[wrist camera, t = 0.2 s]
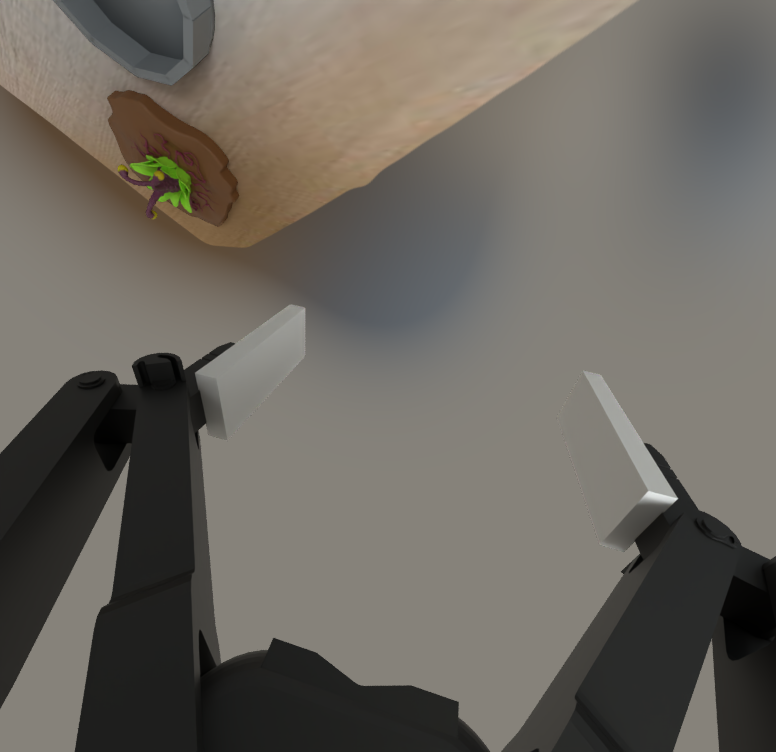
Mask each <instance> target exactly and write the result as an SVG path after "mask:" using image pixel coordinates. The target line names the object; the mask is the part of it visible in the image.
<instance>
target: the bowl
mask: <svg viewBox="0 0 776 752" xmlns="http://www.w3.org/2000/svg"><path fill="white" fill-rule="evenodd" d="M53 1H54V2H55V3H56V4H57V5H58V6H59V8H60V9H61V10H62V11H63V12H64V13H65V14H66V15H67V16H68V18H69V19H70V20H71V21H72V22H73V23H74V24H75V25H76V27H77V28H78V29H79V30H80V31H81V32H82V33H83V34H84V36H85V37H86V38H87V39H88V40H89V41H90V42H92V44H93V45H94V46H96V47H97V48H98V49H100V50H101V51H102V52H104V53H105V54H107V55H108V56H109V57H111V58H112V59H113V60H115V61H116V62H117V63H119V64H120V65H121V66H123V67H124V68H126V69H127V70H128V71H130V72H131V73H132V74H134V75H135V76H137V77H140V78H144V79H148V80H152V81H156V82H160V83H164V84H168V85H173V84H174V83H176V82H177V81H178V80H179V79H180V78H182V77H183V76H184V75H185V74H186V73H188V72H189V71H190V70H191V69H192V68H193V67H194V66H196V65H197V64H198V63H199V62H200V61H201V60H202V59H203V58H204V57H205V56H206V55H207V54H208V53H209V48H210V47H211V44H212V40H213V36H214V28H215V13H214V3H213V0H53Z"/></svg>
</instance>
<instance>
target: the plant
mask: <svg viewBox="0 0 776 752" xmlns="http://www.w3.org/2000/svg"><path fill="white" fill-rule="evenodd" d="M107 99H108V101H109V103H110V105H111V107H112V111H113V114H112V116H110V117H109V119H108V122H109V125H110V127H111V129H112V131H113V133H114V135H115V137H116V140H117V142H118V145H119V147H120V150H121V153H122V155H123V157H124V159H125V161H126V162H127V164H128V165H129V167H130V168H131V170H132V171H133V172H134V173H135V174H136V175H137V176H138V177H139V178H140V179H141V180H142V181H136V180H133V179H131V178H129V177H128V169H127V168H126V167H125V166H124V165H122V164H121V165H119V166H118V172H119V174H120V175H121V176H122V178H124V179H126V181H129V182H130V183H132V184H134V185H138V186H140V185H141V186H147V188H149V189H152V190H153V191H154V192H153V195H151V198H150V199H149V203H148V206H147V210H146V215H147V217H148V218H150V219H155V218H157V213H156V212H155V211H153V210H152V207H153V206H154V205H155V204H156V201H160V202H164V201H168V202H169V203H171V204H172V205H174V206H175V207H177V208H179V209H180V210H182V211H183V212H185V213H187V214H188V215H190V216H194V217H198V218H200V219H202V220H204V221H206V222H208V223H211V224H213V225H215V226H217V227H218V226H220V225H221V224H222V223H223V222H224V221H225V220H226V219H227V217H228V212H229V211H230V210H231V208H232V202H235V201H236V199H237V198H238V196H239V194H238V192H237V190H236V186H237V184H238V182H237V179H236V178H235V177H234V176H233V174H232V173H231V172H230V171H229V170H228V168H227V166H226V165H227V164H228V162H229V160H228V158H227V157H226V155H225V154H224V152H223V151H222V150H221V149H220V148H219V146H218V145H217V144H216V143H215V142H214V141H213V140H212V139H211V138H209V137H208V136H207V135H206V134H204V133H203V132H201V131H199V130H198V129H196V128H194V127H192V126H190V125H188V124H186V123H184V122H182V121H181V120H179V119H178V118H176V117H175V116H173V115H172V114H170V113H169V112H167V111H166V110H164V109H163V108H162V107H160V106H159V105H158V104H156V103H155V102H154V101H153V100H152V99H151V98H150V97H148V96H147V95H145V94H139V93H137V92H134V91H130V90H127V91H125V92H119V91H114V92H113V93H112V94H111V95H110V96H108V98H107Z"/></svg>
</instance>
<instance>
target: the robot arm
mask: <svg viewBox="0 0 776 752" xmlns="http://www.w3.org/2000/svg"><path fill="white" fill-rule="evenodd" d="M304 357H305V308H304V307H300V306H296V305H289V306H288V307H286V308H285V309H283V310H282V311H281V312H279V313H278V314H276V315H275V316H274V317H272V318H271V319H270V320H268V321H267V322H266V323H264V324H263V325H261V326H260V327H258V328H257V329H256V330H254V331H253V332H251V333H250V334H249V335H247V336H246V337H244V338H243V339H242V340H240V341H239V342H237V343H236V344H235V343H231V342H230V343H227V344H225V345H222V346H219V347H217V348H216V349H214V350H213V351H211V352H210V353H209V354H207V355H205V356H204V357H202V359H199V360H198V361H196V362H195V363H194V364H192V365H191V366H189V367H188V368H186V369H185V370H184V369H183V365H182V361H181V359H180V357H179V356H177V355H175V354H170V353H156V354H150V355H147V356H144V357H141V358H139V359H138V360H136V361H135V362H134V364H133V365H132V368H133V371H134V374H135V377H136V379H137V383H138V385H125V384H123V385H122V384H120V383H119V381H118V378H117V376H116V375H115V374H114V373H112V372H109V371H91V372H87V373H83V374H80V375H78V376H76V377H73V378H72V379H70V380H69V381H68V382H66V384H64V385H63V387H62V388H61V389H60V390H59V391H58V392H57V393H56V394H55V395H54V396H53V397H52V399H50V401H49V402H48V403H47V404H46V405H45V406H44V407H43V408H42V409H41V410H40V411H39V412H38V414H37V415H36V416H35V417H34V418H33V419H32V420H31V421H30V422H29V423H28V424H27V425H26V426H25V428H24V429H23V430H22V431H21V432H20V433H19V434H18V435H17V436H16V437H15V438H14V439H13V440H12V442H11V443H10V444H9V445H8V446H7V447H6V448H5V449H4V450H3V451H2V452H1V454H0V708H1V706H2V704H3V703H4V701H5V699H6V697H7V696H8V694H9V692H10V690H11V688H12V687H13V685H14V683H15V681H16V679H17V677H18V675H19V673H20V671H21V669H22V667H23V665H24V663H25V661H26V659H27V657H28V655H29V653H30V651H31V649H32V647H33V645H34V643H35V641H36V639H37V637H38V635H39V634H40V632H41V630H42V628H43V626H44V624H45V622H46V620H47V618H48V616H49V614H50V612H51V610H52V608H53V606H54V604H55V602H56V600H57V598H58V596H59V594H60V592H61V590H62V588H63V586H64V584H65V582H66V580H67V579H68V577H69V575H70V573H71V571H72V568H73V567H74V565H75V563H76V561H77V559H78V557H79V555H80V553H81V551H82V549H83V547H84V545H85V543H86V541H87V539H88V537H89V535H90V533H91V531H92V529H93V527H94V525H95V523H96V521H97V520H98V518H99V516H100V514H101V512H102V510H103V508H104V505H105V504H106V502H107V500H108V498H109V496H110V494H111V492H112V490H113V488H114V486H115V484H116V482H117V480H118V478H119V476H120V474H121V472H122V470H123V468H124V466H125V464H126V463H127V461H128V459H129V456H130V462H129V470H128V477H127V485H126V492H125V500H124V508H123V516H122V523H121V531H120V538H119V545H118V546H119V547H118V553H117V561H116V568H115V576H114V584H113V592H112V597H111V600H110V602H109V604H107V605H106V606H104V607H102V608H101V610H100V612H99V614H98V616H97V619H96V623H95V628H94V633H93V639H92V646H91V652H90V658H89V665H88V671H87V677H86V684H85V690H84V697H83V703H82V709H81V715H80V722H79V728H78V734H77V741H76V748H75V752H490V751H489V749H488V748H487V747H486V745H485V744H484V743H483V742H482V740H481V739H480V738H479V737H478V735H477V734H476V733H475V732H474V731H473V730H472V729H471V728H470V727H469V726H468V725H467V724H466V723H465V722H464V721H462V720H461V719H459V718H458V706H459V702H457V701H454V700H451V699H448V698H446V697H442V696H440V695H437V694H434V693H431V692H428V691H425V690H422V689H419V688H416V687H414V686H361V685H358V684H356V683H355V682H353V681H352V680H351V679H350V678H348V677H347V676H346V675H344V674H343V673H342V672H340V671H339V670H338V669H337V668H335V667H334V666H333V665H332V664H330V663H329V662H328V661H327V660H325V659H324V658H323V657H321V656H320V655H319V654H318V653H316V652H313V651H310V650H307V649H304V648H301V647H298V646H295V645H293V644H289V643H287V642H284V641H281V640H278V639H275V638H273V640H272V642H271V645H270V647H269V649H268V650H260V651H254V652H248V653H245V654H242V655H239V656H236V657H234V658H232V659H229V660H227V661H225V662H223V663H221V660H220V651H219V644H218V638H217V633H216V627H215V617H214V605H213V593H212V581H211V569H210V556H209V544H208V532H207V520H206V508H205V495H204V483H203V471H202V459H201V446H200V436H199V432H198V430H199V429H200V428H201V427H202V426H203V425H204V424H206V426H207V430H208V435H210V436H213V437H217V438H220V439H224V440H228V439H229V438H230V437H231V436H232V435H233V434H234V433H235V432H236V431H237V430H238V429H239V427H240V426H241V425H242V424H243V423H244V422H245V421H246V420H247V419H248V418H249V416H251V414H252V413H253V412H254V411H255V410H256V409H257V408H258V407H259V406H260V405H261V404H262V402H263V401H264V400H265V399H266V398H267V397H268V396H269V395H270V394H271V393H272V392H273V391H274V389H275V388H276V387H277V386H278V385H279V384H280V383H281V382H282V381H283V380H284V379H285V378H286V376H287V375H288V374H289V373H290V372H291V371H292V370H293V369H294V368H295V366H297V364H298V363H299V362H300V361H301V360H302V359H303V358H304ZM557 420H558V423H559V426H560V429H561V432H562V435H563V438H564V441H565V444H566V447H567V450H568V453H569V456H570V459H571V462H572V465H573V468H574V471H575V474H576V477H577V480H578V483H579V486H580V489H581V492H582V495H583V498H584V501H585V504H586V506H587V510H588V513H589V516H590V519H591V521H592V525H593V528H594V531H595V534H596V537H597V539H598V542H599V545H601V546H604V547H608V548H611V549H615V550H619V551H622V552H625V551H626V550H627V549H628V548H629V547H630V546H631V545H632V544H633V543H634V542H636V544H637V547H638V549H639V551H640V554H639V555H638V556H637V557H636V558H635V559H634V560H633V561H632V562H631V563H630V564H629V565H627V567H625V568H624V569H623V570H622V571H621V572H622V573H623V574H624V575H623V577H622V578H621V580H620V581H619V582H618V584H617V585H616V587H615V588H614V590H613V592H612V593H611V594H610V596H609V598H608V599H607V600H606V602H605V604H604V605H603V606H602V608H601V610H600V611H599V612H598V614H597V616H596V617H595V618H594V620H593V621H592V623H591V624H590V626H589V627H588V629H587V631H586V632H585V634H584V635H583V637H582V638H581V640H580V641H579V643H578V644H577V646H576V647H575V649H574V650H573V652H572V653H571V655H570V656H569V658H568V659H567V661H566V662H565V664H564V665H563V667H562V668H561V670H560V671H559V673H558V674H557V676H556V677H555V679H554V680H553V682H552V683H551V685H550V686H549V688H548V689H547V691H546V692H545V694H544V695H543V697H542V698H541V700H540V701H539V703H538V704H537V706H536V707H535V709H534V710H533V712H532V713H531V715H530V716H529V718H528V719H527V721H526V722H525V724H524V725H523V726H522V728H521V729H520V731H519V732H518V733H517V734H516V736H515V737H514V738H513V739H512V740H511V741H510V742H509V743H508V744H507V745H506V747H505V748H504V749H503V750H502V752H673V749H674V747H675V744H676V741H677V737H678V735H679V732H680V729H681V726H682V723H683V720H684V717H685V714H686V712H687V709H688V706H689V703H690V700H691V697H692V694H693V691H694V688H695V685H696V682H697V679H698V677H699V674H700V671H701V668H702V665H703V662H704V659H705V656H706V653H707V650H708V647H709V644H710V642H711V639H712V645H713V659H714V660H713V661H714V677H715V692H716V708H717V723H718V739H719V752H776V556H775V557H774V558H772V559H771V560H770V559H768V558H765V557H763V556H761V555H759V554H757V553H755V552H753V551H751V550H749V549H747V548H744V547H742V546H741V543H740V541H739V540H738V538H737V536H736V535H735V534H734V533H733V532H732V531H731V530H730V529H729V528H728V527H727V526H726V525H725V524H723V523H722V522H721V521H719V520H718V519H716V518H715V517H713V516H711V515H709V514H707V513H705V512H702V511H699V510H698V508H697V507H696V505H695V504H694V502H693V501H692V499H691V498H690V496H689V495H688V493H687V492H686V490H685V489H684V487H683V486H682V484H681V483H680V481H679V480H678V479H677V476H676V475H675V473H674V472H673V470H671V469H670V466H669V465H668V463H667V461H666V460H665V458H664V457H663V456H662V455H661V454H660V453H659V452H658V451H657V450H656V449H655V448H654V447H652V446H651V445H650V444H647V443H643V442H642V440H641V439H640V437H639V435H638V434H637V432H636V431H635V429H634V427H633V426H632V424H631V423H630V421H629V419H628V418H627V416H626V415H625V413H624V411H623V410H622V408H621V406H620V405H619V404H618V402H617V400H616V398H615V397H614V395H613V394H612V392H611V391H610V389H609V387H608V386H607V384H606V382H605V381H604V379H603V378H602V376H601V375H600V374H595V373H591V372H586V371H582V373H581V375H580V377H579V378H578V380H577V382H576V384H575V386H574V387H573V389H572V391H571V393H570V395H569V396H568V398H567V400H566V402H565V404H564V405H563V407H562V409H561V411H560V412H559V414H558V416H557Z"/></svg>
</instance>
